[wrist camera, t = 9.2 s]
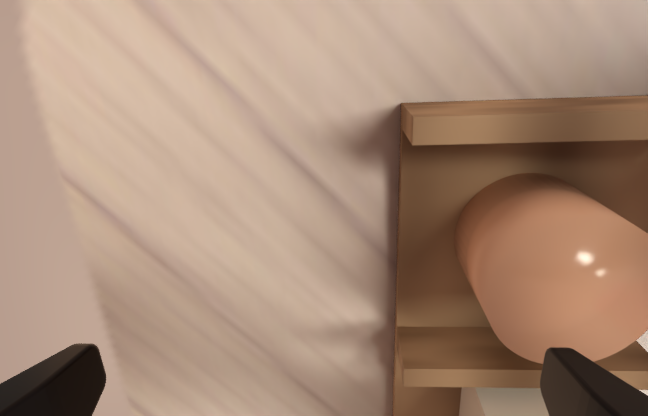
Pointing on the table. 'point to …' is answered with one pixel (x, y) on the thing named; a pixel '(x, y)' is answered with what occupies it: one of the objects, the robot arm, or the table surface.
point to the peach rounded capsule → (554, 267)
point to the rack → (450, 200)
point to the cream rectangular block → (502, 402)
